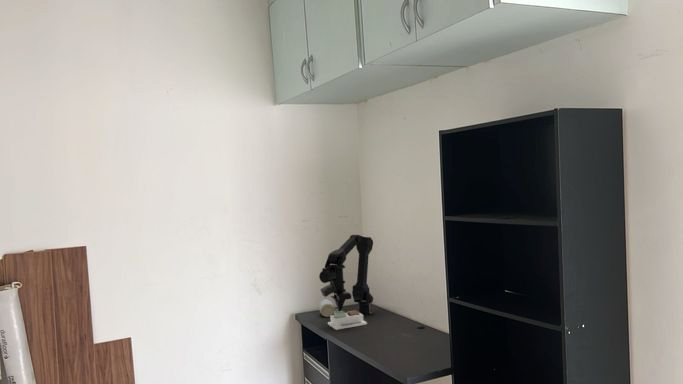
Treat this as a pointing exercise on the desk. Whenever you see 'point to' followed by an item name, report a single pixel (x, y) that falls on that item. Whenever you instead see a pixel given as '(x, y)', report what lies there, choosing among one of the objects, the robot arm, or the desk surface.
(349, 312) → the walnut key
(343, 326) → the key panel
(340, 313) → the sage key
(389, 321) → the desk surface
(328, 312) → the ceramic mug
